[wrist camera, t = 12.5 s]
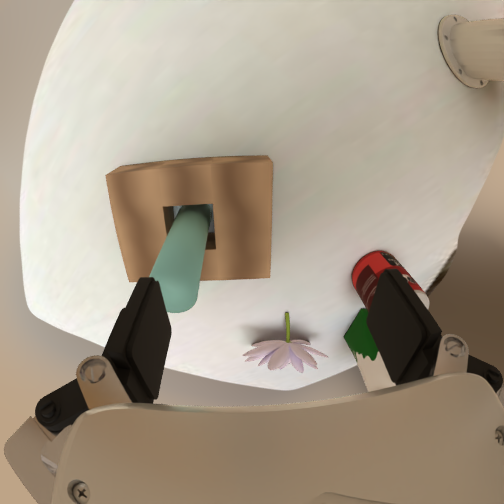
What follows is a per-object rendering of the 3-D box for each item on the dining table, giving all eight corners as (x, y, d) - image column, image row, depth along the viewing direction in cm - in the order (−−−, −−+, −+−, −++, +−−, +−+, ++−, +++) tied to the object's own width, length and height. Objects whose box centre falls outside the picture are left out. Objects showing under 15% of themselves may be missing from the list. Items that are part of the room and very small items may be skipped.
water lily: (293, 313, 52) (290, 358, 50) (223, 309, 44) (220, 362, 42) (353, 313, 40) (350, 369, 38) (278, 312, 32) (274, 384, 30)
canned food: (398, 274, 41) (432, 317, 31) (358, 298, 42) (385, 346, 33) (387, 239, 37) (426, 281, 28) (343, 266, 39) (372, 315, 30)
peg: (210, 197, 33) (193, 269, 19) (212, 227, 35) (200, 312, 21) (178, 199, 33) (140, 271, 19) (181, 228, 35) (151, 312, 21)
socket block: (267, 155, 31) (272, 162, 27) (266, 259, 38) (270, 277, 34) (120, 166, 30) (105, 175, 26) (138, 263, 37) (129, 282, 33)
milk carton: (396, 308, 45) (446, 393, 27) (372, 342, 49) (410, 425, 31) (359, 303, 43) (408, 401, 26) (336, 340, 47) (370, 434, 30)
